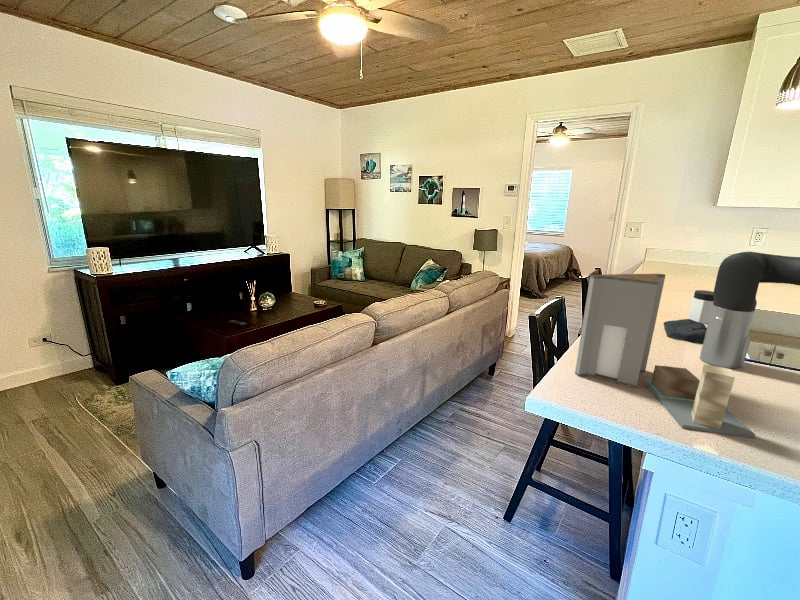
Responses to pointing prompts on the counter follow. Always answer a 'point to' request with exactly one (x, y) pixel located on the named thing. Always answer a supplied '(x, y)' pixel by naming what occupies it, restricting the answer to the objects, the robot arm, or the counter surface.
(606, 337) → the cabinet
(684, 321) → the dark slate chunk
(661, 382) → the base block
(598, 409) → the counter surface
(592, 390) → the counter surface
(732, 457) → the counter surface
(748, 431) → the mat
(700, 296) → the jar
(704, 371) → the pillar
